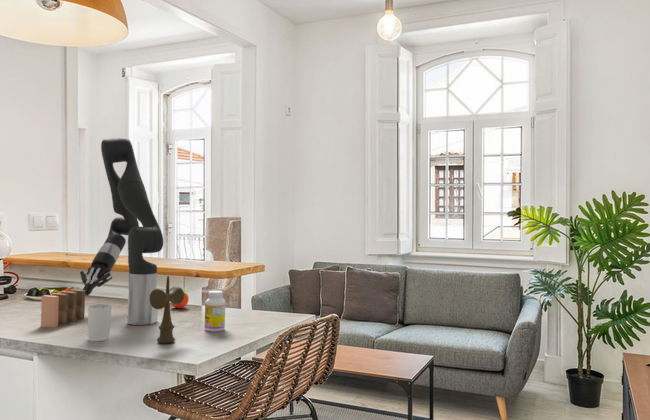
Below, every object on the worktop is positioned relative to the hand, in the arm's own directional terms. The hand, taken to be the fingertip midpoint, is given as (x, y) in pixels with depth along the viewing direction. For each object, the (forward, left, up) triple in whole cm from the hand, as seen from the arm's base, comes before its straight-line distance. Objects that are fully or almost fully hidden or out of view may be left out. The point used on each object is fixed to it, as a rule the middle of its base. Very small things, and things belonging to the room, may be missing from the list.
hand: (85, 294), depth 197 cm
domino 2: (+2, +13, -8) cm, 15 cm away
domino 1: (+3, +18, -8) cm, 19 cm away
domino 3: (+2, +9, -8) cm, 12 cm away
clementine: (-28, -21, -8) cm, 37 cm away
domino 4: (+1, +4, -8) cm, 9 cm away
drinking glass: (-19, +31, -8) cm, 37 cm away
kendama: (-40, +32, -8) cm, 52 cm away
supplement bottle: (-50, +13, -8) cm, 53 cm away
